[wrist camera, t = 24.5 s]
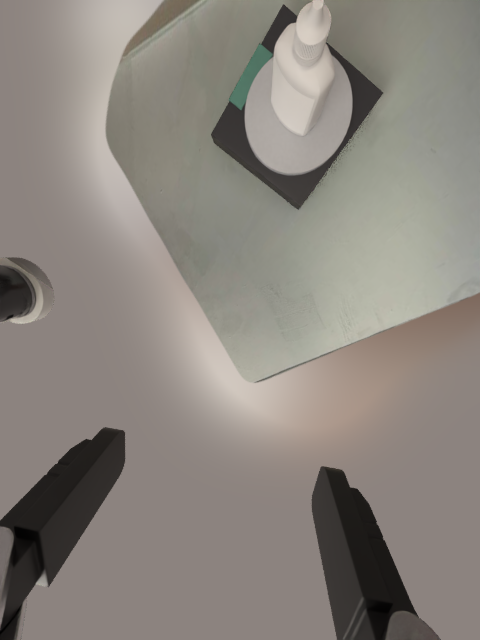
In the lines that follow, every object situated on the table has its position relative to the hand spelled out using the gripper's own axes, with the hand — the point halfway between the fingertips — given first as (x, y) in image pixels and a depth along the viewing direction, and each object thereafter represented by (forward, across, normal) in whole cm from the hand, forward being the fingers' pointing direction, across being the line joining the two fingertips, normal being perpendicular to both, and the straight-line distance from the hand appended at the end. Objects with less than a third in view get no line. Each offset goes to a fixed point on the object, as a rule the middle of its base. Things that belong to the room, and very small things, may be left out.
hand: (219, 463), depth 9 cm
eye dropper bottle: (+25, +2, +24) cm, 35 cm away
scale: (+28, +2, +24) cm, 37 cm away
